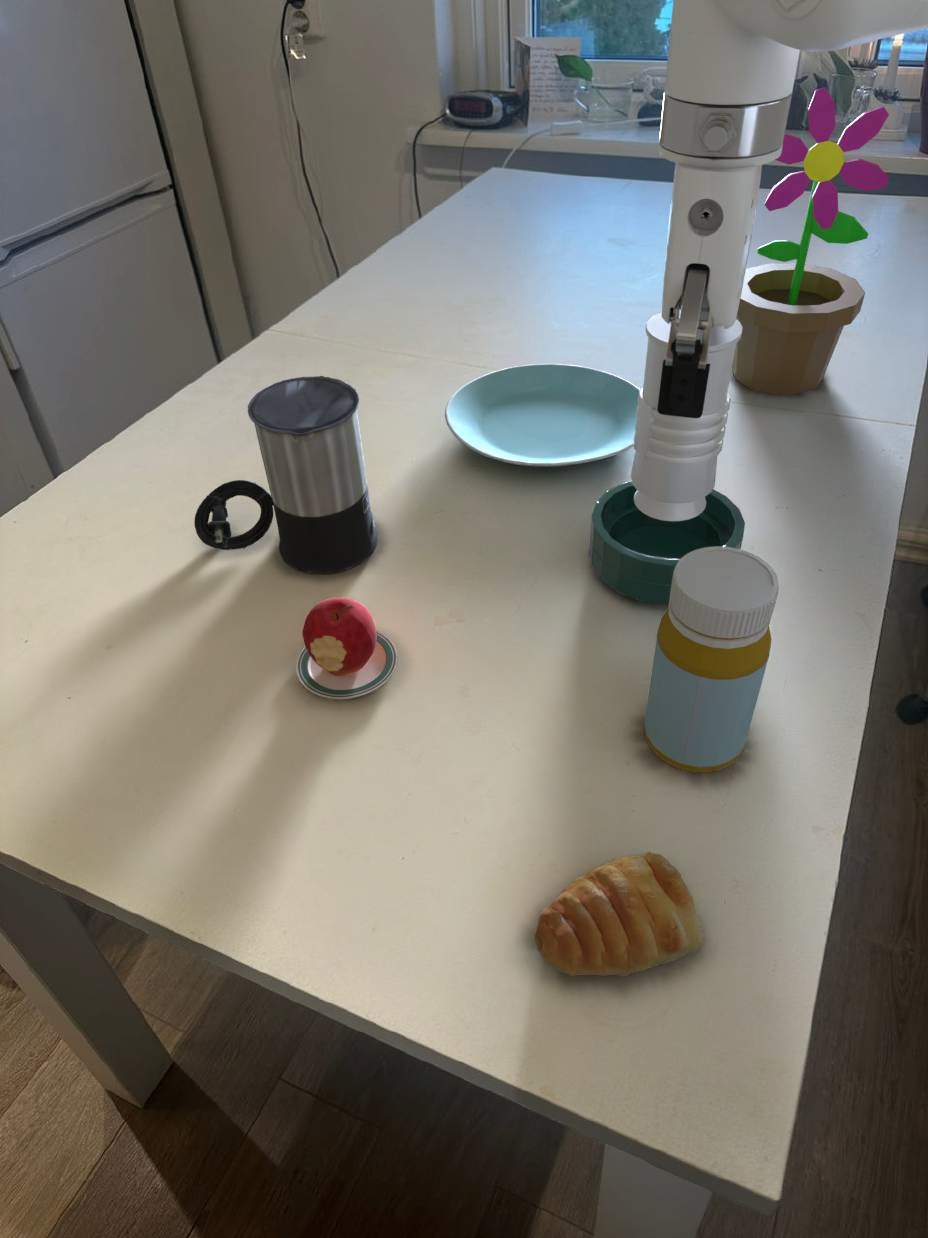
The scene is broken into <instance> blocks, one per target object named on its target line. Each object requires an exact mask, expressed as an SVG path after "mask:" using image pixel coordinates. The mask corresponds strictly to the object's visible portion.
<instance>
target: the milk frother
mask: <svg viewBox="0 0 928 1238" xmlns="http://www.w3.org/2000/svg"><path fill="white" fill-rule="evenodd" d="M359 405H360V396H359V393H358V392H357V390H356V388H354V387H353V386H352V385H351V384H349V383H347V382H345V381H343V380H341V379H338V378H334V377H330V376H324V375H318V376H317V375H315V376H298V377H294V378H293V377H292V378H288V379H284V380H281V381H278V382H274V383H273V384H271V385H268V386H267V387H265V388H263V389H261V390H260V391H258V392H257V393H256V394H255V395H254V396H253V397H252V398H251V399H250V401H249V403H248V404H247V414H248V418H249V419H250V421H252V423H253V424H254V428H255V432H256V439H257V441H258V445H259V446H258V447H259V451H260V455H261V458H262V463H263V467H264V471H265V476H266V480H267V484H268V488H269V492H268V491H267V490H266V489H265V488H264V487H263V486H262V485H260V484H257V483H256V482H253V481H251V480H250V481H249V480H245V479H236V480H230V481H227V482H224V483H222V484H221V485H219V486H217V487H216V488H214V489H213V490H212V491H210V492H209V494H207V495H206V496H205V498H204V499H202V502H201V503H200V504H199V505H198V507H197V509H196V512H195V515H194V523H193V524H194V529H195V532H196V535H197V536H198V538H199V540H200V541H201V542H202V543H203V544H205V545H206V546H208V547H210V548H212V549H217V550H223V551H224V550H226V551H228V550H229V551H230V550H238V549H239V550H240V549H244V548H246V547H250V546H252V545H254V544H255V543H256V542H258V541H259V540H261V539H262V538H263V537H264V536H266V535H265V534H266V533H267V532H268V531H269V529H270V527H271V525H272V523H273V519H274V516H275V520H276V526H277V531H278V536H279V542H278V551H279V554H280V556H281V558H282V560H283V561H284V562H285V563H286V564H287V565H288V566H290V567H291V568H293V569H294V570H296V571H299V572H303V573H307V574H313V575H314V574H315V575H316V574H317V575H327V574H328V575H329V574H336V573H341V572H344V571H347V570H350V569H352V568H355V567H356V566H358V565H360V564H361V563H363V562H365V561H366V560H367V559H369V558H370V557H371V555H372V554H373V553H374V551H375V550H376V548H377V546H378V542H379V533H378V530H377V528H376V525H375V520H374V515H373V512H372V508H371V501H370V491H369V486H368V480H367V471H366V463H365V456H364V451H363V444H362V436H361V430H360V422H359V415H358V408H359ZM238 496H242V497H247V498H249V499H252V500H254V501H255V502H256V503H257V504H258V506H259V508H260V515H259V518H258V520H257V522H256V523H255V524H254V525H253V526H252V527H251V528H250V529H249V530H247V531H245V532H244V533H241V534H238V535H235V536H232V530H231V524H230V522H229V521H227V518H228V517H229V513H228V509H227V501H228V500H230V499H233V498H235V497H238ZM211 513H212V514H211ZM210 514H211V515H210ZM210 516H211V521H210Z"/></svg>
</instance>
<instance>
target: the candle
mask: <svg viewBox="0 0 928 1238" xmlns="http://www.w3.org/2000/svg"><path fill="white" fill-rule="evenodd" d="M681 310H682V309H680V312H679V318H680V315H681ZM708 315H709V312H706V311H701V316H700V320H706V321H708ZM713 323H714V322H713ZM670 328H671V322H670V324H668V323H667V322H665V321H664V319H663V318H662V310H661V311H659V312H657V313H655V314H653V315H651V316H650V317H649V318H648V319H647V321H646V324H645V330H644V331H645V333H646V336H647V337H648V338H647V346H646V347H647V348H646V349H647V350H646V358H645V368H644V375H643V385H642V387H641V388H640V391H639V395H638V407H637V412H636V415H637V419H636V423H635V430H636V431H635V435H634V444H635V445H634V446H633V449H634V451H635V452H634V458H633V462H632V468H631V473H630V481H632V484H633V485H634V487H635V488H636V489H637V491H636V493H635V495H634V503H635V505H636V506H637V508H638V509H639V510H640V511H641V512H643V513H644V514H646V515H648V516H650V517H652V518H656V519H659V520H665V521H683V520H688V519H691V518H694V517H696V516H698V515H699V514H701V513H702V512H703V510H704V509H705V507H706V500H705V496H706V495H708V494H709V493H711V491H712V490H713V489H714V488H715V487H716V479H717V465H718V456H719V455H720V453H721V452H722V450H723V445H724V438H725V434H726V427H727V426H726V425H727V423H728V416H729V413H728V412H729V410H730V406H731V397H730V395H729V385H730V380H731V374H732V364H733V358H734V352H735V346H736V343H737V342H738V341H739V340H740V338H741V334H742V325H741V324H740V322H739V321H738V320H737V319H736V321H735V324H734V325H732V326H731V327H730V328H728V329H724V326H719V325H715V323H714V326H713V329H712V334H711V340H710V346H709V352H708V357H707V363H706V364H710V369H709V376H708V382H707V389H706V395H705V401H704V408H703V413H702V416H701V417H700V418H688V417H679V416H670V415H662V414H660V413H658V411H657V408H658V399H659V391H660V383H661V374H662V366H663V361H664V360H666V354H667V348H668V341H669V334H670ZM703 332H704V330H699V329H698V336H697V339H699V340H701V344H702V338H703Z"/></svg>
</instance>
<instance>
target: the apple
mask: <svg viewBox="0 0 928 1238" xmlns="http://www.w3.org/2000/svg"><path fill="white" fill-rule="evenodd" d="M301 634H302V639H303V644H304V647H303V648H302V650H301V651H300V653H299V654H298V657H297V660H296V663H295V665H296V666H295V669H296V675H297V678H298V681H299V682H300V684H301V685H302V686H303V687H304V688H305V689H306V690H308V691H309V692H311V693H312V694H314V695H316V696H318V697H322V698H324V699H325V698H326V699H331V700H350V699H355V698H359V697H363V696H366V695H368V694H371V693H373V692H375V691H377V689H379V688H381V687H382V686H383V685H384V684H386V683H388V681H389V680H390V679H391V677H392V676H393V675H394V673H395V670H396V668H397V666H398V650H397V648H396V645H395V644H394V642H393V641H392V640H391V639H390V638H389V637H388V636H386V635H385V634H384V633H382V632H380V631H378V630H377V628H376V624H375V622H374V619H373V617H372V614H371V612H370V611H369V609H367V608H366V607H365V606H364V605H363V604H362V603H360V602H359V601H357V600H354V599H352V598H347V597H330V598H326V599H323V600H321V601H319V602H317V603H316V604H314V606H313V607H312V608H311V609H310V610H309V612H308V614H307V615H306V617H305V620H304V623H303V627H302V632H301Z"/></svg>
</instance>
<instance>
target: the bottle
mask: <svg viewBox="0 0 928 1238" xmlns="http://www.w3.org/2000/svg"><path fill="white" fill-rule="evenodd" d="M779 586H780V584H779V578H778V575H777V573H776V572H775V570H774V568H773V567H772V566H771V565H770V564H769V562H767V561H766V560H764V559H763V558H761V557H759V556H758V555H756V554H754V553H752V552H749V551H746V550H744V549H742V548H741V549H737V548H731V547H721V546H715V547H705V548H701V549H697V550H694V551H692V552H690V553H688V554H686V555H685V556H683V557H682V558H681V559H680V560H679V562H678V563H677V565H676V568H675V569H674V572H673V578H672V585H671V591H670V600H669V605H668V607H667V608H666V610H665V611H664V612H663V615H662V616H661V617H660V621H659V624H658V629H657V633H656V638H655V639H656V640H655V645H654V646H655V647H654V653H653V659H652V665H651V666H652V667H651V674H650V681H649V687H648V692H647V693H648V694H647V702H646V708H645V714H644V723H643V731H644V737H645V741H646V742H647V744H648V746H649V748H650V750H651V751H652V752H653V753H654V754H656V756H657V757H659V758H660V759H661V760H662V761H663V762H665V763H667V764H669V765H671V766H672V767H674V768H677V769H678V770H681V771H685V772H691V773H713V772H716V771H719V770H723V769H727V767H730V766H731V765H732V764H733V763H735V762H736V761H737V760H739V758H740V756H741V754H742V753H743V750H744V749H745V745H746V742H747V740H748V739H747V738H748V735H749V732H750V728H751V725H752V721H753V717H754V713H755V709H756V707H757V706H756V705H757V702H758V699H759V695H760V691H761V688H762V683H763V681H764V680H763V679H764V676H765V672H766V669H767V665H768V661H769V657H770V654H771V653H770V652H771V647H772V641H773V640H772V639H773V638H772V634H771V629H770V624H771V620H772V616H773V614H774V610H775V606H776V603H777V600H778V594H779V590H780V587H779Z"/></svg>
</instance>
